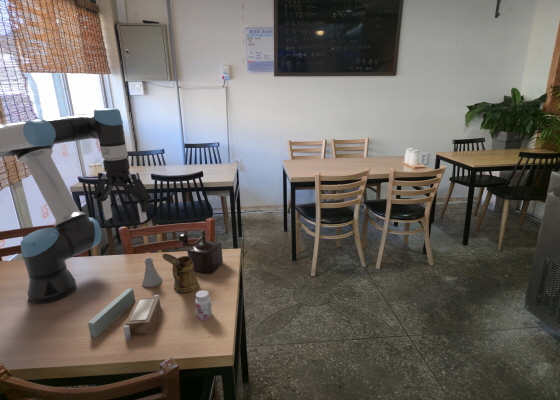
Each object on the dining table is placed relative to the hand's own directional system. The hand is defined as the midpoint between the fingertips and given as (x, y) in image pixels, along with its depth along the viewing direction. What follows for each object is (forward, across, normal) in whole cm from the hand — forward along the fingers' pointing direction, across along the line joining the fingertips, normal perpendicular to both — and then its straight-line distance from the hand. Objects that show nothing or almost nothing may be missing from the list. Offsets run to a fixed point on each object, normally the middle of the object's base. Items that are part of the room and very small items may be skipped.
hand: (126, 219), depth 119 cm
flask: (+29, +1, +7) cm, 30 cm away
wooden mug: (+29, +15, +5) cm, 33 cm away
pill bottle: (+29, +30, -8) cm, 42 cm away
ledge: (+29, +6, -15) cm, 33 cm away
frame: (+29, +12, -15) cm, 35 cm away
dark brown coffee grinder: (+29, +16, +20) cm, 39 cm away
